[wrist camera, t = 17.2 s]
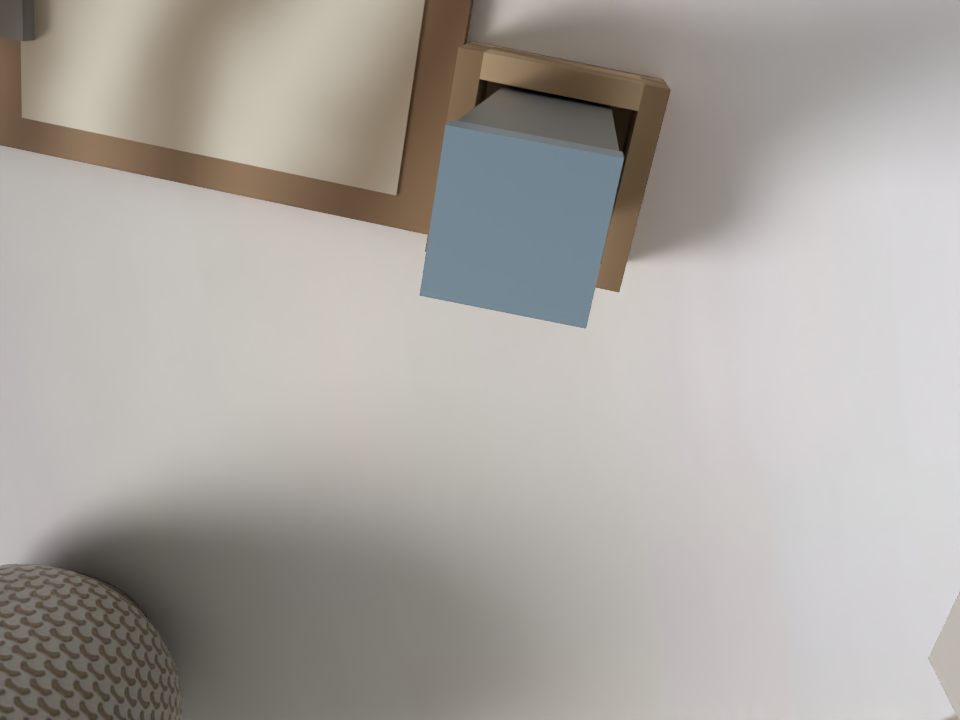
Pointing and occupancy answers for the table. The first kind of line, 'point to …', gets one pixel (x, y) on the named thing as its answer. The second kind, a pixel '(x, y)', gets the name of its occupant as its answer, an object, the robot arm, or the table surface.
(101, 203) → the table surface
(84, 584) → the planter
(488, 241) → the blue-grey tall block
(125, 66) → the clipboard
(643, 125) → the holder
